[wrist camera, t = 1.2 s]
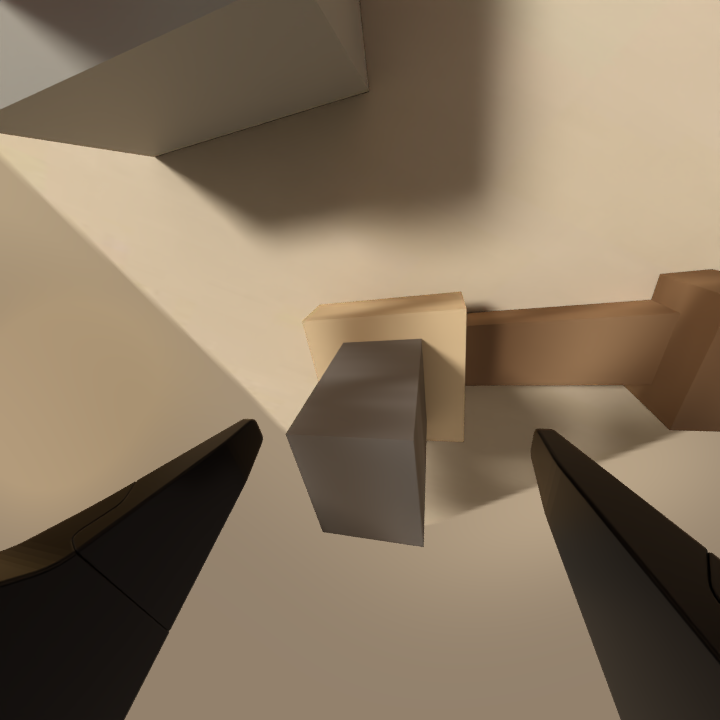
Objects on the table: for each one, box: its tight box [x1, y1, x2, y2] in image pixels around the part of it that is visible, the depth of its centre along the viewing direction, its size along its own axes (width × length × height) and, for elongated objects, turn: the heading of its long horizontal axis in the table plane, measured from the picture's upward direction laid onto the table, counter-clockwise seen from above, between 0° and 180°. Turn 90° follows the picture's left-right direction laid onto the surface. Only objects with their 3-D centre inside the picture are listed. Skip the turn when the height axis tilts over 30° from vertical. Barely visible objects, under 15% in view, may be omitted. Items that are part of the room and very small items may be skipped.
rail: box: [465, 269, 720, 431], centre depth 12 cm, size 16×5×3 cm, turn 100°
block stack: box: [286, 292, 467, 547], centre depth 10 cm, size 6×6×7 cm
